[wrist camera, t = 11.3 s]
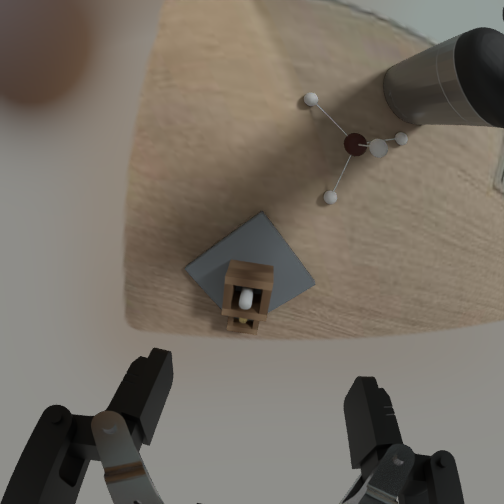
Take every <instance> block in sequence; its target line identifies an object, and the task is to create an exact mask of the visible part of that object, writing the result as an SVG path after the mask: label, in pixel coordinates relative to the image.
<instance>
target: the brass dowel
mask: <svg viewBox="0 0 504 504" xmlns="http://www.w3.org/2000/svg"><path fill="white" fill-rule="evenodd" d="M239 321H240V322H241V323H246V322H247V319H244V318H239Z"/></svg>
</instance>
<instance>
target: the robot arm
mask: <svg viewBox="0 0 504 504" xmlns="http://www.w3.org/2000/svg"><path fill="white" fill-rule="evenodd" d="M503 20H504V8H503ZM384 94H385V97H386V100H387V102H388V104H389V106H390V108H391V109H392V110H393V112H394V113H395V114H396V115H397V116H398V117H399V118H401V119H402V120H404V121H406V122H408V123H411V124H416V125H420V124H430V125H469V126H487V127H500V128H504V34H502V33H500V32H498V31H496V30H494V29H491V28H485V27H484V28H482V27H481V28H476V29H473V30H470V31H468V32H465V33H463V34H460V35H458V36H455V37H453V38H451V39H448V40H447V41H444V42H442V43H440V44H437V45H435V46H433V47H431V48H429V49H427V50H424V51H422V52H420V53H418V54H416V55H414V56H412V57H410V58H408V59H406V60H404V61H402V62H400V63H398V64H396V65H394V66H392V67H391V68H390V69H389V70H388V72H387V73H386V75H385V79H384ZM172 382H173V365H172V353H171V351H167V350H162V349H159V348H153V349H152V351H151V353H150V355H149V357H148V358H146V357H142V356H140V357H139V358H138V359H136V360H135V361H134V362H132V364H131V365H130V367H129V369H128V371H127V374H125V376H124V378H123V381H122V382H121V384H120V385H119V387H118V389H117V391H116V393H115V395H114V397H113V399H112V401H111V402H110V404H109V406H108V408H107V409H106V410H105V411H102V412H100V413H98V414H96V415H95V416H83V415H73V414H71V413H70V411H69V410H68V409H67V408H66V407H64V406H61V405H52V406H50V407H48V408H47V409H45V411H44V412H43V414H42V416H41V417H40V419H39V421H38V423H37V425H36V427H35V429H34V430H33V433H32V434H31V436H30V438H29V440H28V442H27V444H26V446H25V448H24V450H23V452H22V454H21V457H20V459H19V461H18V463H17V465H16V467H15V470H14V472H13V475H12V476H11V479H10V481H9V484H8V486H7V489H6V491H5V494H4V496H3V499H2V501H1V504H75V503H76V500H77V497H78V493H79V491H80V487H81V485H82V482H83V479H84V476H85V473H86V471H87V468H88V465H89V462H90V460H97V461H101V462H102V465H103V468H104V472H105V474H104V479H105V482H106V485H107V488H108V490H109V493H110V495H111V498H112V500H113V503H114V504H164V502H163V501H162V499H161V497H160V495H159V493H158V491H157V490H156V488H155V486H154V484H153V482H152V480H151V478H150V476H149V473H148V472H147V469H146V467H145V465H144V463H143V460H142V458H141V456H140V453H139V450H140V448H141V445H142V443H143V444H146V445H150V443H151V440H152V437H153V435H154V432H155V429H156V426H157V424H158V421H159V418H160V415H161V413H162V410H163V407H164V405H165V402H166V399H167V397H168V394H169V391H170V389H171V386H172ZM344 414H345V420H346V427H347V433H348V441H349V448H350V456H351V464H352V469H358V468H361V474H360V475H359V477H358V478H357V480H356V481H355V482H354V484H353V485H352V487H351V488H350V490H349V491H348V492H347V494H346V495H345V496H344V498H343V499H342V500H341V502H340V503H339V504H398V502H397V501H396V499H397V496H398V500H399V504H464V499H463V494H462V489H461V484H460V480H459V475H458V471H457V467H456V463H455V459H454V457H453V456H452V454H451V453H449V452H448V451H445V450H440V451H437V452H436V453H434V454H433V455H432V456H427V455H419V454H415V453H414V452H413V451H412V449H411V448H410V447H408V446H407V445H404V444H403V442H402V438H401V434H400V431H399V427H398V423H397V420H396V416H395V415H394V410H393V408H392V403H391V400H390V397H389V395H388V394H387V393H386V391H385V390H384V389H383V388H378V385H377V382H376V379H375V377H361V376H358V377H357V378H356V379H355V381H354V383H353V385H352V387H351V388H350V390H349V392H348V394H347V395H346V397H345V400H344ZM197 504H200V503H197Z"/></svg>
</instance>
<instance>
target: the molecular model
mask: <svg viewBox="0 0 504 504" xmlns="http://www.w3.org/2000/svg"><path fill="white" fill-rule="evenodd" d="M304 102H305V103H306V104H307V105H308V106H314V105H317V103H318V97H317V95H316V94H314V93H307V94H306V95H305V96H304ZM317 106H318V107H319V108H320V109H321V110H322V111H323V112H324V113H325V114H326V115H327V116H328V117H329V118H330V119H331V120H332V121H333V122H334V123H335V124H336V125H337V126H338V127H339V128H340V129H341V127H340V126H339V125H338V124H337V123H336V122H335V121H334V120H333V119H332V118H331V117H330V116H329V115H328V114H327V113H326V112H325V111H324V110H323V109H322V108H321V107H320V106H319V105H317ZM341 130H342V129H341ZM342 131H343V130H342ZM343 132H344V131H343ZM344 134H345V135H346V136H347V137H346V138H345V140H344V147H345V150H346V151H347V152H348V153H349V154H350V157H349V159H348V161H347V163H346V165H345V167H344V169H343V171H342V173H341V176H342V174H343V172H344V170H345V168H346V166H347V164H348V162H349V160H350V158H351V155H352V156H360V155H362V154H364V152H365V151H366V149H367V147H369V149H370V152H371V154H372V155H373V156H375V157H378V158H380V157H383V156H385V155H386V154H387V151H388V146H387V144H386V142H385V141H388V140H395V141H396V142H397V143H398V144H399V145H405V144H406V143H407V141H408V138H407V135H406V134H405V133H403V132H399V133H397V134H396V135H395V138H394V139H386V140H382V139H374V140H372V141H371V142H366V139H365V138H364V137H363V136H362V135H360V134H358V133H351V134H349V135H347V134H346V133H345V132H344ZM367 143H370V145H367ZM341 176H340V178H339V180H338V182H337V184H336V186H335V188H334V190H333V191H331V190H329V191H327V192H325V194H324V201H325V202H326V203H328V204H333V203H335V202H336V200H337V194H336V193H335V192H334V191H335V189H336V187H337V185H338V183H339V181H340V179H341Z"/></svg>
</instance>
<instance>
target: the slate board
mask: <svg viewBox="0 0 504 504" xmlns="http://www.w3.org/2000/svg"><path fill="white" fill-rule="evenodd" d="M231 259H232V260H238V261H245V262H251V263H258V264H265V265H271V266H274V280H273V288H272V293H271V298H270V303H269V308H268V312H270V311H272V310H274V309H275V308H277V307H279V306H281V305H282V304H284V303H286V302H287V301H289V300H291V299H292V298H294V297H296V296H297V295H299V294H301V293H302V292H304V291H306V290H307V289H309V288H311V287H312V286H314V285H315V281H314V279H313V278H312V277H311V275H310V274H309V272H308V271H307V270H306V268H305V267H304V266H303V264H302V263H301V262H300V260H299V259H298V257H297V256H296V255H295V253H294V252H293V251H292V249H291V248H290V247H289V245H288V244H287V243H286V241H285V240H284V239H283V237H282V236H281V235H280V233H279V232H278V231H277V229H276V228H275V227H274V225H273V224H272V223H271V221H270V220H269V219H268V218H267V216H266V215H265V214H264V212H263V211H261V212H260V213H258V214H257V215H255V216H254V217H253V218H251V219H250V220H248V221H247V222H246V223H244V224H243V225H241V226H240V227H239V228H237V229H236V230H235V231H233V232H232V233H230V234H229V235H228V236H226V237H225V238H223V239H222V240H221V241H219V242H218V243H217V244H215V245H214V246H213V247H211V248H210V249H208V250H207V251H206V252H204V253H203V254H202V255H200V256H199V257H198V258H196V259H195V260H194V261H192V262H191V263H189V264H188V265H187V266H186V268H185V270H186V271H187V272H188V273H189V274H190V275H191V277H192V278H193V279H194V280H195V281H196V282H197V283H198V284H199V286H200V287H201V288H202V289H203V290H204V291H205V292H206V293H207V294H208V295H209V297H210V298H211V299H212V300H213V301H214V302H215V303H216V304H217V305H218V306H219V307H220V308H221V310H222V305H223V294H224V284H225V276H226V273H227V270H228V267H229V264H230V261H231ZM235 291H241V295H240V300H239V306H240V308H242V309H245V310H246V309H249V308H250V307H251V305H252V298H253V293H254V294H261V289H256V288H250V287H243V286H237V285H236V286H235ZM234 319H239V318H238V317H234ZM247 321H253V320H251V319H247Z"/></svg>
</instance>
